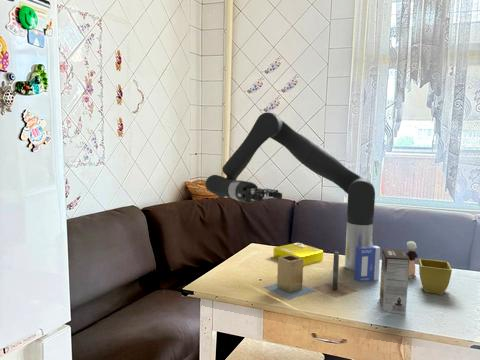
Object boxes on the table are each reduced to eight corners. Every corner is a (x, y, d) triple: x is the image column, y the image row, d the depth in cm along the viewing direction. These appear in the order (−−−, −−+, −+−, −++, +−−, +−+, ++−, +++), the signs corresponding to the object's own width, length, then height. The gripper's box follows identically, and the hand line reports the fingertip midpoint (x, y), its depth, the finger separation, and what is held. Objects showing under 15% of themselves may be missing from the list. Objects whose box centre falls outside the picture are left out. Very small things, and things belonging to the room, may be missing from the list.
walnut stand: (333, 282, 139) (334, 246, 138) (357, 291, 131) (359, 253, 130) (312, 288, 134) (313, 250, 132) (336, 298, 126) (338, 258, 124)
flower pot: (446, 288, 136) (448, 261, 135) (450, 298, 128) (452, 269, 127) (417, 284, 139) (418, 258, 138) (419, 293, 131) (420, 266, 130)
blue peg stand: (290, 280, 140) (291, 260, 139) (317, 292, 131) (317, 269, 130) (263, 288, 133) (263, 266, 132) (288, 300, 124) (289, 277, 123)
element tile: (271, 258, 167) (271, 246, 166) (297, 252, 176) (298, 241, 175) (297, 268, 155) (298, 255, 154) (324, 261, 164) (325, 249, 164)
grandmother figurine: (408, 272, 151) (410, 238, 149) (419, 275, 148) (421, 240, 146) (399, 277, 145) (401, 242, 144) (410, 280, 142) (412, 244, 141)
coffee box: (378, 299, 126) (381, 247, 124) (401, 301, 124) (404, 249, 122) (382, 312, 117) (386, 256, 115) (407, 314, 115) (410, 258, 114)
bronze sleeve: (290, 284, 136) (290, 254, 135) (302, 289, 131) (303, 259, 130) (277, 288, 132) (277, 257, 131) (289, 293, 128) (290, 262, 127)
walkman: (358, 282, 140) (360, 247, 138) (354, 279, 142) (356, 245, 141) (379, 281, 141) (381, 246, 140) (375, 278, 144) (377, 244, 143)
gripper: (227, 182, 148) (255, 187, 135) (258, 179, 156) (288, 184, 143) (226, 202, 149) (254, 210, 136) (258, 199, 157) (287, 206, 144)
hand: (271, 197), depth 140 cm, fingers open, 8 cm apart
